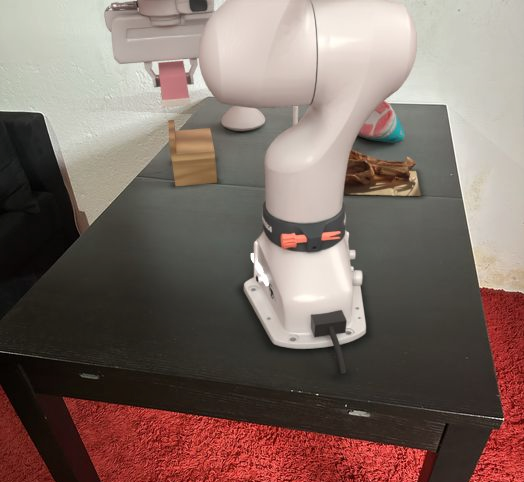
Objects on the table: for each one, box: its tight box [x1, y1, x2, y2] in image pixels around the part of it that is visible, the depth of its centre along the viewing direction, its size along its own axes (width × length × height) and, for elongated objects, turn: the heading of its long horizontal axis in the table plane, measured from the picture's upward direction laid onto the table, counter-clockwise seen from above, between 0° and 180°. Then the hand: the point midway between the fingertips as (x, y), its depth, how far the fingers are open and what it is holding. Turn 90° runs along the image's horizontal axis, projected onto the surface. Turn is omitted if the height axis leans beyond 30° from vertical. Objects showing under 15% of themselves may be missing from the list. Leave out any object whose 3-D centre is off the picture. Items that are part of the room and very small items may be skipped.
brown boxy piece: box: [167, 119, 218, 187], centre depth 114 cm, size 13×9×9 cm
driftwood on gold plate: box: [343, 148, 422, 197], centre depth 110 cm, size 14×7×28 cm
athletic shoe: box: [357, 100, 406, 144], centre depth 130 cm, size 27×9×12 cm
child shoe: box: [157, 60, 191, 108], centre depth 100 cm, size 12×5×5 cm, turn 10°
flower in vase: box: [220, 105, 266, 132], centre depth 129 cm, size 13×11×25 cm
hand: (174, 85), depth 100 cm, fingers closed on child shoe, 5 cm apart
